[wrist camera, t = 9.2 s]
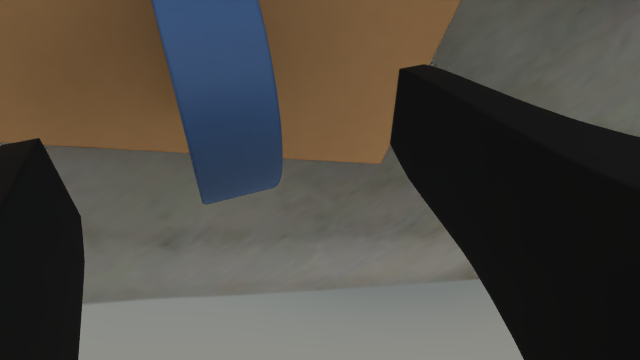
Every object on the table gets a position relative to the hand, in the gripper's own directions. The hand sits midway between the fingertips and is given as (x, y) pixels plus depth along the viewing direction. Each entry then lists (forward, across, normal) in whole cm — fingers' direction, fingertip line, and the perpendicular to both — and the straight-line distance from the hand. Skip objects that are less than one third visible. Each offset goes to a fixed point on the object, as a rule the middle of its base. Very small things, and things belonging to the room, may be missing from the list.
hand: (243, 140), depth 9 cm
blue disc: (+4, 0, 0) cm, 4 cm away
